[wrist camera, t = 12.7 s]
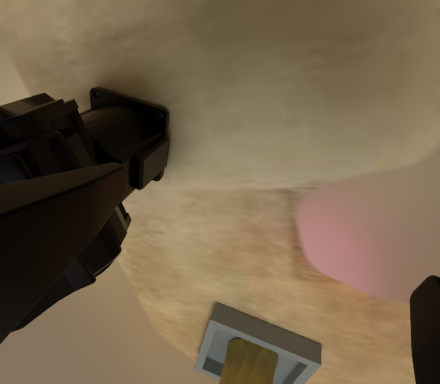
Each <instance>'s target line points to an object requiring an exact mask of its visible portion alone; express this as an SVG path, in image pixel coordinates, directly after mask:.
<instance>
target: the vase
mask: <svg viewBox="0 0 440 384" xmlns="http://www.w3.org/2000/svg"><path fill="white" fill-rule="evenodd" d="M277 364H278V359H277V356H276V354H275V353H274V351H272V350H269V349H267V348H264V347H262V346H260V345H257V344H255V343H252V342H250V341H248V340H245V339H243V338H237V339H234V340H232V341H230V342H229V343H228V345H227V353H226V358H225V362H224V365H223V370H222V374H221V379H220V383H219V384H273V380H274V374H275V370H276V367H277Z"/></svg>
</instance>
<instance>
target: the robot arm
mask: <svg viewBox="0 0 440 384" xmlns="http://www.w3.org/2000/svg"><path fill="white" fill-rule="evenodd" d="M96 92H97V93H98V95H99V96H97V94H96ZM90 101H91V109H89V110H87V111H85V112H82V113H80V114H79V112H78V110H77V109H78V105H77V103H76V101H75V99H72V100H68V101H64V100H63V99H59V100H54V99H53V98H51V97H50V96H49V95H47V94H46V93H42V94H38V95H35V96H32V97H29V98H25V99H21V100H18V101H15V102H12V103H8V104H5V105H2V106H0V344H1V343H2V342H3V340H4V339H5V338H6V337H7V336H8V335H9V334H10V332H13V331H16V330H19V329H21V328H23V327H25V326H26V325H27V324H29V323H30V322H31V321H32V320H34V319H35V318H36V317H38V316H39V315H40V314H41V313H43V312H44V311H45V310H47V309H48V308H49V307H51V306H52V305H53V304H55V303H56V302H58V301H59V300H61V299H62V298H64V297H66V296H68V295H69V294H71V293H73V292H74V291H77V290H79V289H81V288H84V287H86V286H88V285H91V284H93V283H94V282H95V281H96V278H95V277H96V276H98V275H99V274H101V273H102V272H104V271H105V270H106V269H107V268H108V267H109V266H110V265H111V264H112V262H113V261H114V259H116V258H117V256H118V255H119V254H120V252H121V250H122V248H121V244H122V242H123V240H124V238H125V236H126V234H127V229H128V227H129V224H130V222H131V218H130V215H129V213H126V211H125V208H124V206H123V204H122V201H123V200H124V199H126V198H127V197H128V196H129V195H130V194H131V193H132V192H133V191H134V190H135V189H137V190H141V189H143V188H144V187H145V186H146V185H147V184H148V183H149V182H150V181H151V180H154V181H159V180H161V178H162V177H163V170H164V167H165V166H166V165H167V155H168V146H169V138H168V136H167V130H168V120H169V113H168V111H167V110H166V109H165V108H163V107H160V106H157V105H154V104H151V103H147V102H144V101H141V100H138V99H135V98H132V97H128V96H125V95H122V94H119V93H116V92H113V91H109V90H106V89H103V88H100V87H95V88H92V89H91V90H90ZM160 112H161V113H163V116H164V117H162V116H161V115H160ZM156 175H158V177H157V176H156ZM410 321H411V348H412V359H413V367H414V374H415V381H416V384H440V277H438V276H435V275H431V276H429V277H427V278H426V279H425V280H424V281H423V282H422V283H421V284H420V285H419V286H418V287H417V288H416V289H415V290H414V291H413V293H412V295H411V297H410Z"/></svg>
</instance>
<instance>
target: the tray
mask: <svg viewBox="0 0 440 384" xmlns="http://www.w3.org/2000/svg"><path fill="white" fill-rule="evenodd" d="M237 338H243V339H245V340H248V341H250V342H252V343H255V344H257V345H260V346H262V347H264V348H267V349H269V350H272V351H274V353H275V354H276V356H277V359H278V364H277V367H276V370H275V374H274V380H273V384H305V383H306V382H307V380H308V379H309V378H310V377H311V376H312V375H313V374H314V373H315V371H316V370H317V369H318V368H319V367H320V366H321V344H319V343H317V342H314V341H312V340H309V339H307V338H304V337H302V336H299V335H297V334H294V333H292V332H289V331H287V330H284V329H282V328H279V327H277V326H274V325H272V324H269V323H267V322H264V321H262V320H259V319H257V318H254V317H252V316H249V315H247V314H244V313H242V312H239V311H237V310H234V309H232V308H229V307H227V306H224V305H222V304H220V303H217V302H216V304H215V307H214V310H213V312H212V315H211V318H210V321H209V324H208V327H207V330H206V333H205V336H204V339H203V342H202V345H201V348H200V351H199V354H198V357H197V360H196V364H195V367H194V369H195V370H197V371H199V372H201V373H204V374H206V375H208V376H211V377H213V378H215V379H217V380H220V379H221V374H222V370H223V365H224V362H225V358H226V353H227V345H228V343H229V342H230V341H232V340H234V339H237Z"/></svg>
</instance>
